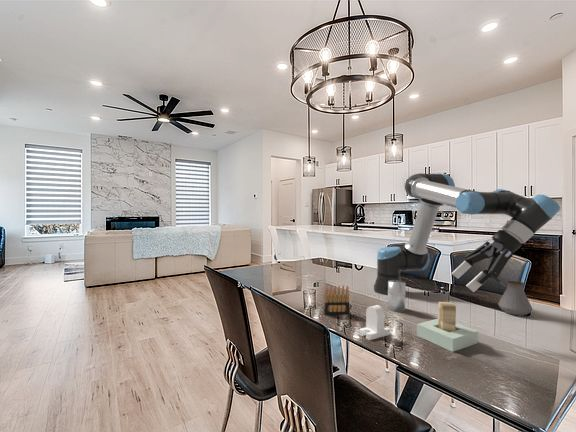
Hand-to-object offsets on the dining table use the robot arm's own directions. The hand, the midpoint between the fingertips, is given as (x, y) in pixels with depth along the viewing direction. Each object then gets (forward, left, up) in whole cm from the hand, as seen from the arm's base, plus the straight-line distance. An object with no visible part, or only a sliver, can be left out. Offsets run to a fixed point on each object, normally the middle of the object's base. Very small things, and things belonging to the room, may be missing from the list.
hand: (461, 282), depth 99 cm
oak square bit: (+5, -2, -19) cm, 20 cm away
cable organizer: (+24, -15, -19) cm, 35 cm away
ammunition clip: (+24, -38, -19) cm, 49 cm away
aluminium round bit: (-3, -31, -19) cm, 36 cm away
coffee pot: (-46, -10, -19) cm, 51 cm away
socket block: (+5, -2, -19) cm, 20 cm away
